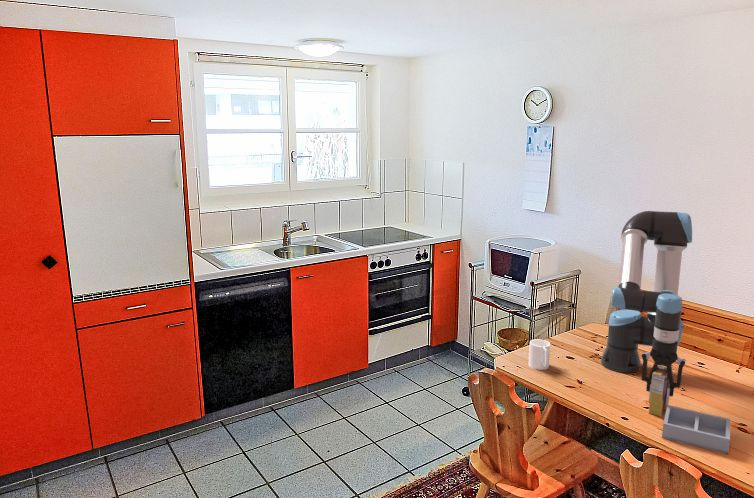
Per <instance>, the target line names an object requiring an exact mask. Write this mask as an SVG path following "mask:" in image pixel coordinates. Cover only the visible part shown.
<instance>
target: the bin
mask: <svg viewBox="0 0 754 498" xmlns="http://www.w3.org/2000/svg"><path fill="white" fill-rule="evenodd" d="M661 439H666V440H669V441H673V442H677V443H681V444H684V445H688V446H692V447H696V448H701V449H704V450H709V451H713V452H716V453H721V454H724V455H729V450H730V443H731V418H728V417H722V416H717V415H714V414H710V413H707V412H706V413H705V412H701V411H697V410H691V409H688V408H683V407H678V406H674V405H670V404H668V405H667V408H666V409H665V414H664V420H663V425H662V432H661Z"/></svg>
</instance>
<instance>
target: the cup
mask: <svg viewBox="0 0 754 498" xmlns="http://www.w3.org/2000/svg"><path fill="white" fill-rule="evenodd" d="M550 353H551V343H550V342H549V341H548V340H545V339H539V338H537V339H535V338H534V339H531V340H530V341H529V350H528V366H529V368H531V369H534V370H538V371H541V370H542V371H544V370H547V369H549V368H550V358H551V357H550V355H551V354H550Z"/></svg>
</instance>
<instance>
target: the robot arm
mask: <svg viewBox="0 0 754 498" xmlns="http://www.w3.org/2000/svg"><path fill="white" fill-rule="evenodd" d="M620 240H621V242H622V252H621V258H620V268H619V269H620V270H619V277H618V286H617V287H612V289H611V295H610V305H611V307H612V308H615V309H618V310H614V311H612V312H611V313H610V315H609V321H608V332H607V343H606V347H605V349H604V351H603V353H602V355H601V359H600V362H601V366H603V367H604V368H607V369H609V370H611V371H613V372H618V373H630V374H631V373H637V372H639V371H640V370H641V367H642V371H641V381H644V382H645V383H646V389H645V390H646V392H649V395H648V402H649V403H650V395H651V385H652V374H653V372H654V371H655V370H656V369H657V367H658V366H659V365H663V366H666V367H667V372H668V378H669V385H668V388H667V396H666V405H669V403H670V402H669V401H670V397H674V391H675V389H676V388H677V389H680V388H681V384H682V376H683V368H684V366H685V365H686V359H685V358H683V359H682V358H680V357H679V356H678V353H677V352H678V347H679V345H680V342H681V338H682V334H683V330H684V321H683V320H681V318H682V317H681V316H682V310H683V298H682V297H681V296H679V295H678V294H679V285H680V276H681V265H682V258H683V257H682V256H683V251H684V250H686V249H687V248H688V244H691V243H693V223H692V217H691V215H690V214H689V213H686V212H678V211H673V212H672V211H658V210H657V211H653V210H645V211H642V212H638V213H636V214H635V215H633V216H632V217H631V218H629V219H628V221H627V222H626V223H625V224H624V225H623V228H622V231H621V236H620ZM648 241H653V246H655V248H656V249H657V253H656V266H655V275H654V284H653V285H654V286H653V291H652V290H651V291H650V290H645V289H643V290H642V289H641V287H642V277H643V266H644V265H643V264H644V254H645V253H644V251H645V244H647V242H648ZM641 312H646V315H645V316H644V315H642V313H641ZM640 345H641V346H647V347H648V346H649V347H651V350H650V352H646V351H643V352H642V354H641V357H642V358H640V354H639V353H640V352H639V351H638V350H639V349H638V348H639V346H640ZM650 357H651V359H652V360H653V361H654V363H653V365H652V368H651V370H650V373H649V375H648V376H647V372H648V361H649V359H650ZM641 359H642V361H641ZM675 362H677V365H678V369H677V376H676V377H677V378H676V382H675V380H674V372H673V367H672V365H673V364H674V363H675Z"/></svg>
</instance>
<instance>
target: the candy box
mask: <svg viewBox="0 0 754 498" xmlns="http://www.w3.org/2000/svg"><path fill="white" fill-rule="evenodd" d="M668 385H670V384H669V378H668V372H667V367H666V366H663V365H658V367H657V369H656V370H655V371H654V372H653V374H652V385H651V395H650V402H649V406H648V414H650V415H653V416H658V417H662V416H663V414H664V412H666V409H667V405H666V396H667V388H668Z"/></svg>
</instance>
